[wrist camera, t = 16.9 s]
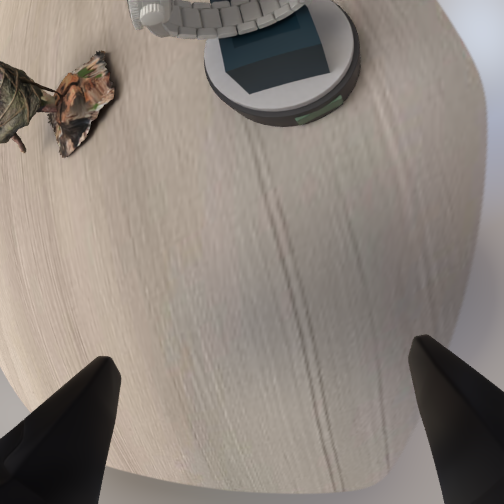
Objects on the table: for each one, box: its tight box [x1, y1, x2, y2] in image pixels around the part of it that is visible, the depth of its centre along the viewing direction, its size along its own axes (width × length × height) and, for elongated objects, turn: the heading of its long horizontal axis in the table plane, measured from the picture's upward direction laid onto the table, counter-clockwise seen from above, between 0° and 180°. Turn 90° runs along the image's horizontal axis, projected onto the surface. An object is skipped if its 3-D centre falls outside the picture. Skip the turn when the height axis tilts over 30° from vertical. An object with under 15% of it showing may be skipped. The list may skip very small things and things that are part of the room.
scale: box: [204, 0, 360, 127], centre depth 16 cm, size 9×9×3 cm
